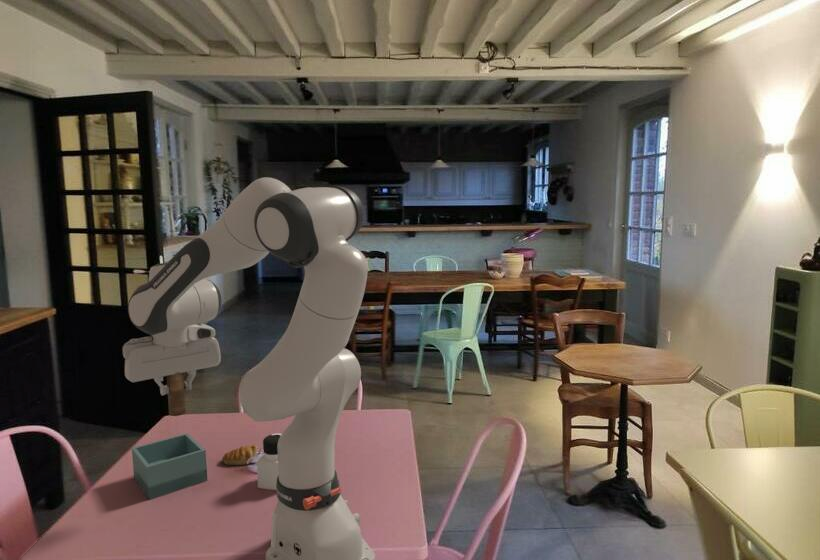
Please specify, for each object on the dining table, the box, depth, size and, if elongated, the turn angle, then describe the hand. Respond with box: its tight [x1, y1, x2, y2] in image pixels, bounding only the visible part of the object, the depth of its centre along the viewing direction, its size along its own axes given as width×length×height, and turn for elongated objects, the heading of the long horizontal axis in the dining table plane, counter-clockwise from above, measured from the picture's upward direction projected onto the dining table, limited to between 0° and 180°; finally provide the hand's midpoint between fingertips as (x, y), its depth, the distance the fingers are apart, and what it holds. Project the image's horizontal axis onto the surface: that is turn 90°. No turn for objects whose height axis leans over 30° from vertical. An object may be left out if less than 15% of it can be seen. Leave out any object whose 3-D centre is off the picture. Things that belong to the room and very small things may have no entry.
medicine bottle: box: [256, 433, 282, 491], centre depth 132 cm, size 7×7×12 cm
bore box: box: [131, 432, 208, 501], centre depth 135 cm, size 14×14×8 cm
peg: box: [166, 372, 187, 417], centre depth 123 cm, size 4×4×12 cm
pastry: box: [221, 444, 259, 466], centre depth 145 cm, size 9×7×4 cm
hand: (176, 391), depth 124 cm, fingers closed on peg, 4 cm apart
